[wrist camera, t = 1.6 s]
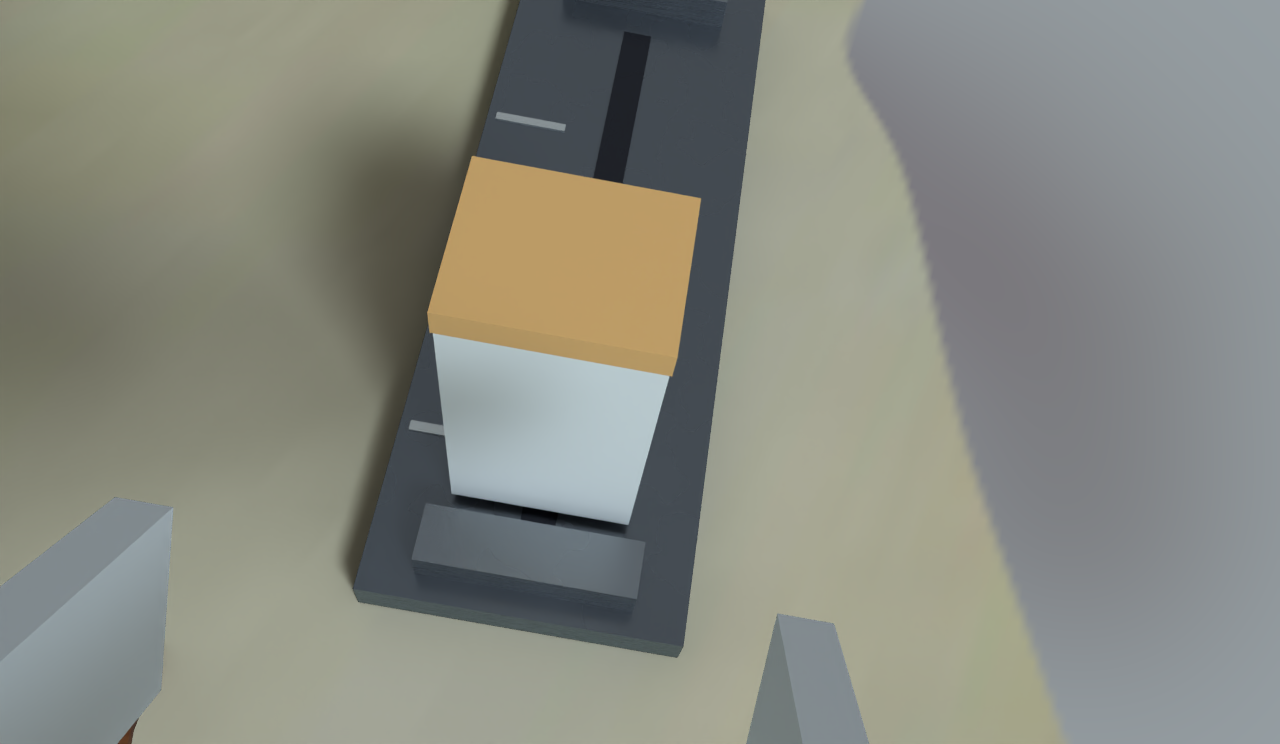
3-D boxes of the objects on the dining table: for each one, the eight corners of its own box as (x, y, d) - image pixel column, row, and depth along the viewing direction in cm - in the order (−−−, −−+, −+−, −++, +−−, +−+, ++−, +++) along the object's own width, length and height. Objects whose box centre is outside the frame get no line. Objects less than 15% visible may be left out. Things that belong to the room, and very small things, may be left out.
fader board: (677, 657, 30) (689, 635, 28) (357, 602, 30) (347, 574, 28) (761, 6, 43) (774, -42, 41) (536, -36, 43) (538, -87, 41)
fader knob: (629, 527, 30) (677, 358, 22) (449, 495, 30) (426, 312, 22) (650, 398, 32) (701, 198, 24) (481, 368, 32) (472, 156, 24)
